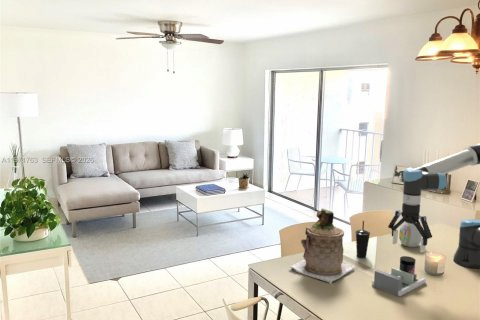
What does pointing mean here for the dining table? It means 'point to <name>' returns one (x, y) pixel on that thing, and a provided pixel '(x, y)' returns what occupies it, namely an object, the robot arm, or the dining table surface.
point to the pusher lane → (395, 283)
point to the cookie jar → (323, 250)
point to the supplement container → (407, 264)
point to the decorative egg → (409, 235)
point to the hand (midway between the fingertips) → (408, 247)
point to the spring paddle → (403, 276)
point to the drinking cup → (362, 242)
